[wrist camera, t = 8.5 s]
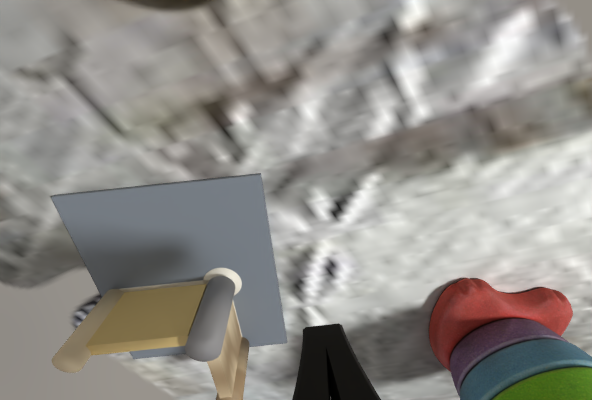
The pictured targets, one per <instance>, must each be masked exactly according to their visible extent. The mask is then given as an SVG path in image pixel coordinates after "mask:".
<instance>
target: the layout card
mask: <svg viewBox="0 0 592 400" xmlns="http://www.w3.org/2000/svg"><path fill="white" fill-rule="evenodd" d="M51 198H52V200H53V202H54V204H55V206H56V208H57V210H58V212H59V214H60V216H61V218H62V220H63V222H64V224H65V226H66V228H67V230H68V232H69V234H70V236H71V238H72V240H73V242H74V243H75V245H76V247H77V249H78V251H79V253H80V255H81V257H82V259H83V261H84V263H85V265H86V267H87V269H88V271H89V273H90V275H91V277H92V279H93V281H94V283H95V285H96V286H97V289H98V291H99V292H100V294H101V296H102V297H103V296H104V294H105V293H106V292H107V291H108V290H111V289H119V290H121V291H123V292H133V291H143V290H153V289H162V288H172V287H182V286H192V285H201V284H208V282H209V280H210V279H212V278H213V277H216V276H225V277H228V278H230V279H231V280H232V281H233V282H234V283H235V293H234V297H233V305H234V309H235V313H236V317H237V321H238V324H239V328H240V332H241V336H242V337H244V338H246V339H247V340H248V341H249V347H254V346H264V345H273V344H283V343H287V337H286V331H285V324H284V318H283V312H282V305H281V299H280V293H279V286H278V280H277V273H276V267H275V261H274V254H273V248H272V242H271V235H270V229H269V223H268V216H267V210H266V203H265V197H264V191H263V184H262V178H261V173H260V174H250V175H241V176H231V177H222V178H212V179H203V180H193V181H184V182H174V183H165V184H155V185H146V186H136V187H127V188H117V189H108V190H98V191H89V192H79V193H70V194H60V195H54V196H52V197H51ZM130 353H131V355H132V357H133V359H139V358H149V357H158V356H168V355H177V354H186V352H185V346H178V347H168V348H158V349H148V350H138V351H130Z"/></svg>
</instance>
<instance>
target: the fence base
mask: <svg viewBox="0 0 592 400" xmlns="http://www.w3.org/2000/svg"><path fill="white" fill-rule="evenodd" d="M248 352H249V341H248V340H247V339H246V338H244V337H242V336H241V332H240V328H239V324H238V321H237V317H236V313H235V309H234V305H233V302H232V306H231V310H230V315H229V319H228V324H227V328H226V333H225V337H224V342H223V346H222V350H221V354H220V356H219V357H218V358H216V359H214V360H212V361H207V363H208V365H209V368H210V371H211V374H212V377H213V380H214V383H215V386H216V389H217V391H218V392H217V397H216V400H243V392H244V384H245V376H246V368H247V360H248Z"/></svg>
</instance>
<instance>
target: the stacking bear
mask: <svg viewBox="0 0 592 400" xmlns="http://www.w3.org/2000/svg"><path fill="white" fill-rule="evenodd" d="M572 315H573V311H572V308H571V304H570V303H569V301H568V299H567V298H566V297H565V296H564V295H563V294H562V293H561V292H559V291H556V290H551V289H549V288H539V289H534V290H531V291H528V292H524V293H518V294H508V293H502V292H499V291H496V290H495V289H493V288H492V287H491V286H490V285H489V284H488V283H487V282H485V281H483V280H480V279H467V278H466V279H463V280H460V281H459V282H457V283H454V284H452V285H450V286H449V287H448V288H446V289H445V290H444V292H443V293H442V294H441V296H440V298H439V299H438V301H437V303H436V305H435V308H434V310H433V313H432V316H431V320H430V325H429V339H430V344H431V347H432V350H433V352H434V354H435V356H436V357H437V359H438V360H439V361H440V362H441V363H442V365H443V366H444V367H445V368H447V369H448V370H449V371H450V372H451V374H452V378H453V381H454V384H455V387H456V390H457V392H458V395H459V396H460V400H592V357H591V356H590V355H588V354H587V353H586V352H584V351H583V350H581V349H580V348H578V347H577V346H575V345H573V344H571V343H569V342H568V341H567V340H565V339H564V338H562V337H561V335H562V334H563V332H564V331H565V329H566V328H567V326H568V324H569V322H570V320H571V318H572Z"/></svg>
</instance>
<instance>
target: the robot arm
mask: <svg viewBox="0 0 592 400" xmlns="http://www.w3.org/2000/svg"><path fill="white" fill-rule="evenodd" d="M330 396H331V400H381V399H380V397H379V396H378V394H377V393H376V391H375V389H374V388H373V386H372V384H371V383H370V381H369V379H368V377H367V376H366V374H365V372H364V371H363V369H362V367H361V365H360V363H359V362H358V360H357V358H356V356H355V354H354V352H353V350H352V348H351V346H350V344H349V342H348V339H347V337H346V335H345V332H344V330H343V327H342V325H340V324H331V325H322V326H313V327H306V328H305V329H303V345H302V354H301V360H300V367H299V372H298V377H297V382H296V387H295V391H294V396H293V400H330Z"/></svg>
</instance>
